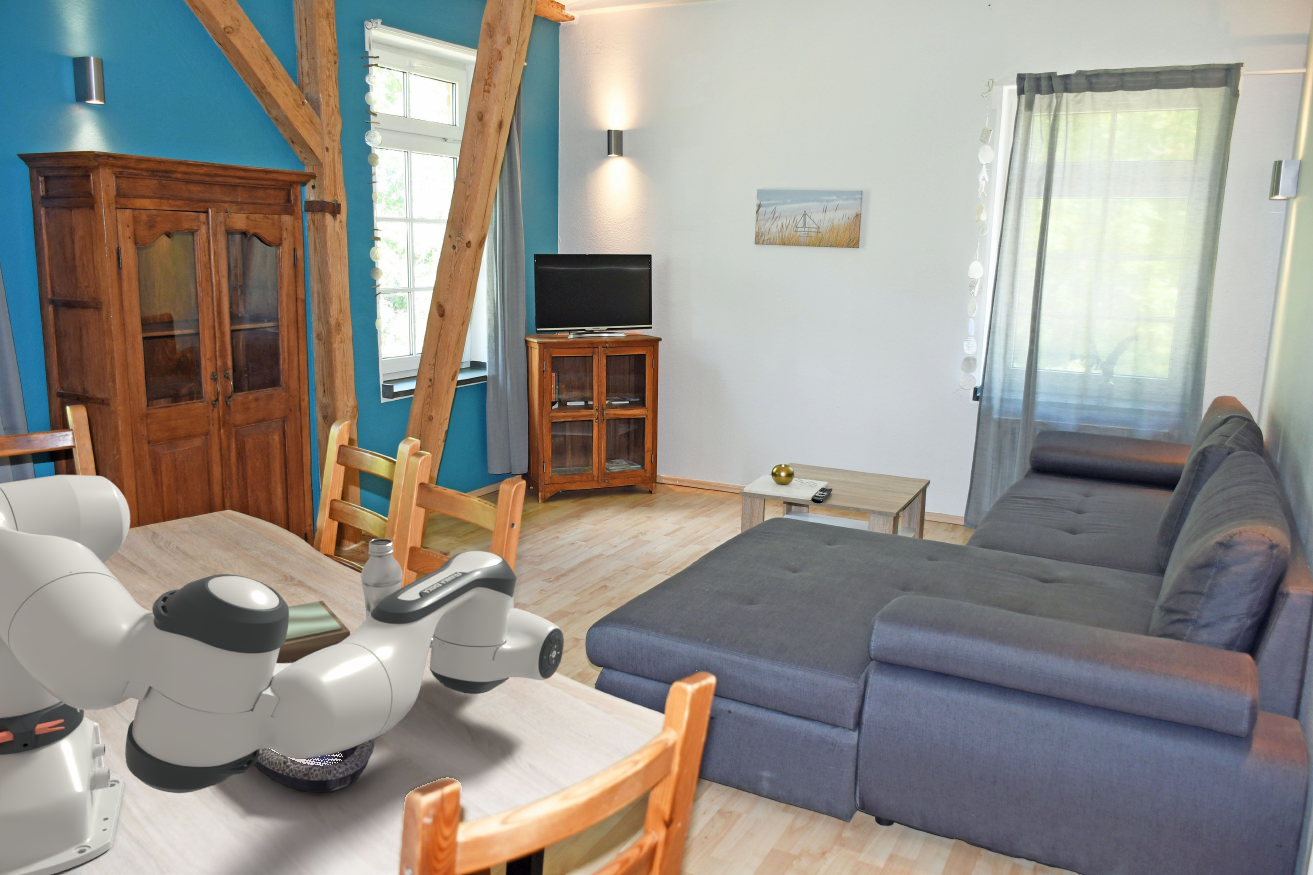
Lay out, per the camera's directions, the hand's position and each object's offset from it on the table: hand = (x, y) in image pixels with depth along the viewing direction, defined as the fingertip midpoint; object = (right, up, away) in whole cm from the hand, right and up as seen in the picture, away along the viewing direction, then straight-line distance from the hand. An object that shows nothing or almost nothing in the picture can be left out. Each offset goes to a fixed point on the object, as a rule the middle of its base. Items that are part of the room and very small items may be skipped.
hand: (408, 604), depth 150 cm
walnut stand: (-22, -8, +12) cm, 27 cm away
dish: (-9, -16, -21) cm, 28 cm away
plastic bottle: (-5, -10, +5) cm, 12 cm away
